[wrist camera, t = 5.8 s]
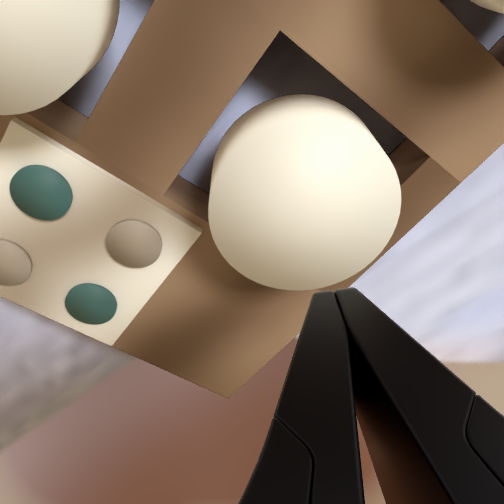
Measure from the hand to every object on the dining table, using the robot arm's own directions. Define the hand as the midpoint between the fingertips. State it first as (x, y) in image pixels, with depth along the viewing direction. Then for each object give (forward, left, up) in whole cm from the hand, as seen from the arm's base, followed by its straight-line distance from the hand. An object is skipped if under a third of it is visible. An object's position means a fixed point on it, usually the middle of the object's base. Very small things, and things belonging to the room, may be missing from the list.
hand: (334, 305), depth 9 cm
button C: (0, 0, -6) cm, 6 cm away
